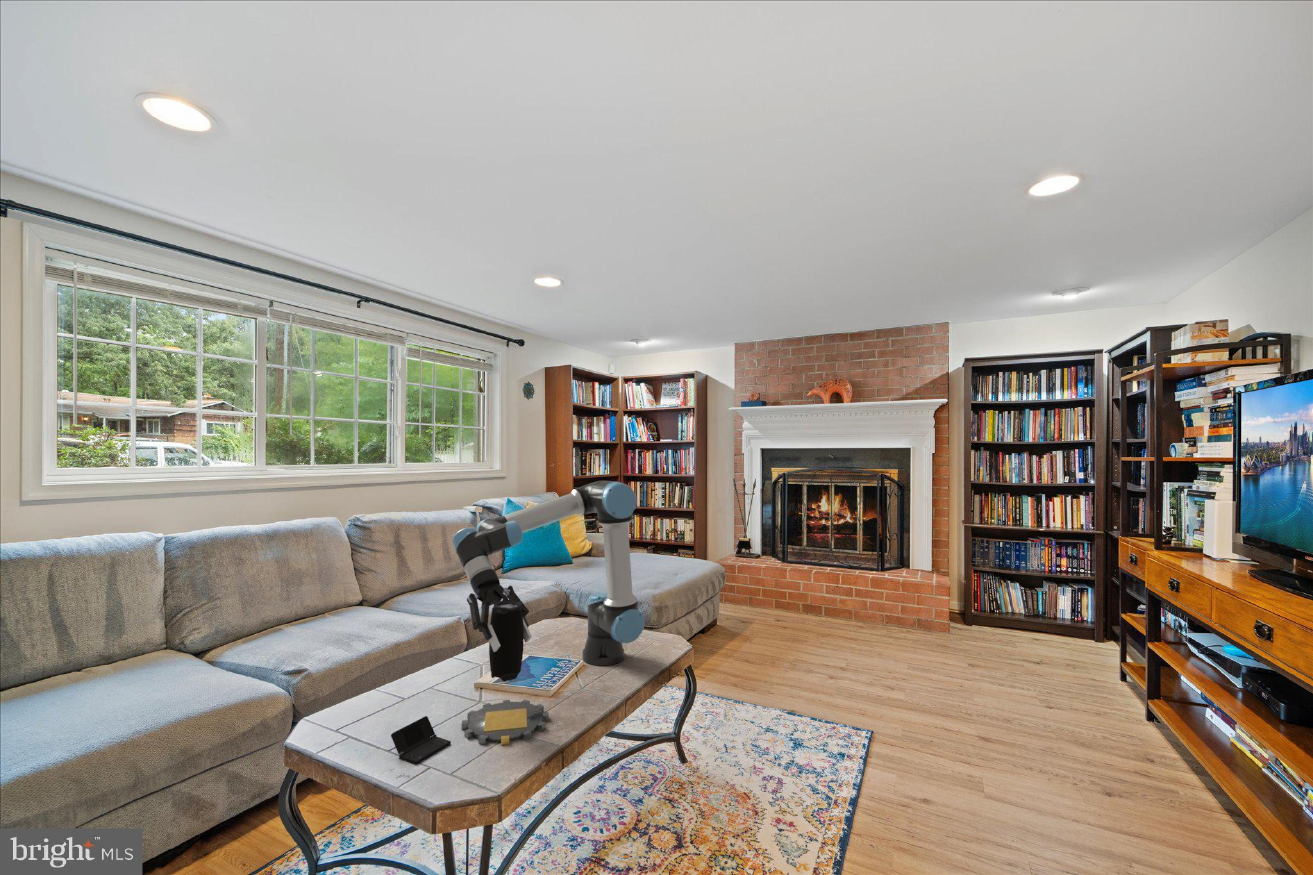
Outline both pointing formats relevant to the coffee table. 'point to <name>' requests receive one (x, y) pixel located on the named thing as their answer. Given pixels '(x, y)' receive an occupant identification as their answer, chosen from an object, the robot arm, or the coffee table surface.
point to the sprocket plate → (505, 722)
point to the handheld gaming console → (418, 741)
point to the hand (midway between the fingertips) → (513, 644)
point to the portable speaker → (507, 640)
